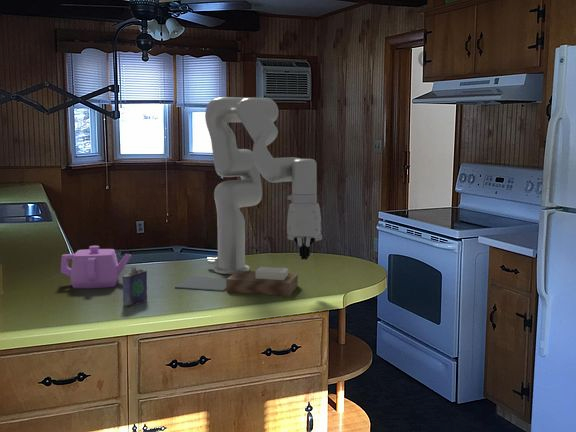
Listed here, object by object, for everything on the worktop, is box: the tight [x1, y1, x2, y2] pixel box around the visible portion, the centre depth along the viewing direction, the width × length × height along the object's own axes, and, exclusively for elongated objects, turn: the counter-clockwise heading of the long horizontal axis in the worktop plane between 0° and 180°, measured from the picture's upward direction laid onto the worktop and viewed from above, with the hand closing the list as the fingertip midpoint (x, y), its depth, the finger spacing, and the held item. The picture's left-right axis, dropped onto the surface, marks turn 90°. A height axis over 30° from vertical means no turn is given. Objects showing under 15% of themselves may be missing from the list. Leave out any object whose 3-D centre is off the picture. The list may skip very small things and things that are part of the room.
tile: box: [255, 266, 289, 280], centre depth 207 cm, size 9×6×2 cm, turn 77°
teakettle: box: [60, 245, 132, 289], centre depth 213 cm, size 17×17×12 cm
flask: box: [122, 265, 148, 308], centre depth 192 cm, size 9×3×11 cm, turn 151°
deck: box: [225, 270, 299, 297], centre depth 208 cm, size 20×12×4 cm, turn 77°
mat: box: [174, 276, 227, 292], centre depth 214 cm, size 16×14×1 cm
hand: (304, 258), depth 204 cm, fingers closed
